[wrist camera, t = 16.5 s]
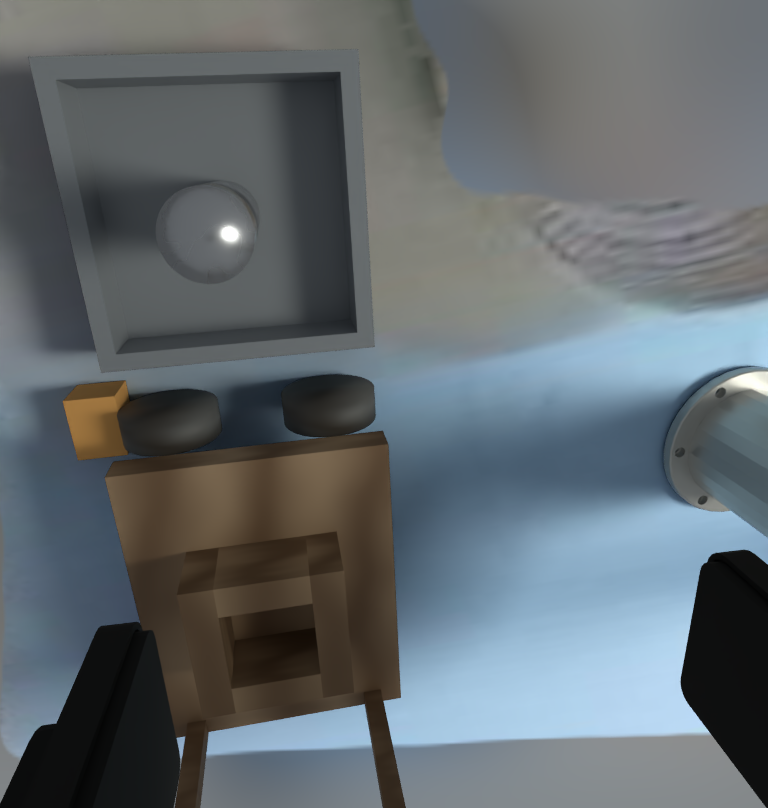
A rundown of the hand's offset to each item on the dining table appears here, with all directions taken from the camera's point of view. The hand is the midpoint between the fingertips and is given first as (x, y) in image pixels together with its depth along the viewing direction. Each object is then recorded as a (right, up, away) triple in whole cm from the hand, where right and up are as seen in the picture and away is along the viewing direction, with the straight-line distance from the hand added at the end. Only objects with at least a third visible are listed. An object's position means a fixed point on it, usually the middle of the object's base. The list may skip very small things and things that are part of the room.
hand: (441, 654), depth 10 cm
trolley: (-9, -5, +36) cm, 37 cm away
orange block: (-19, +4, +30) cm, 36 cm away
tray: (-11, +16, +27) cm, 33 cm away
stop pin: (-10, +16, +26) cm, 32 cm away
